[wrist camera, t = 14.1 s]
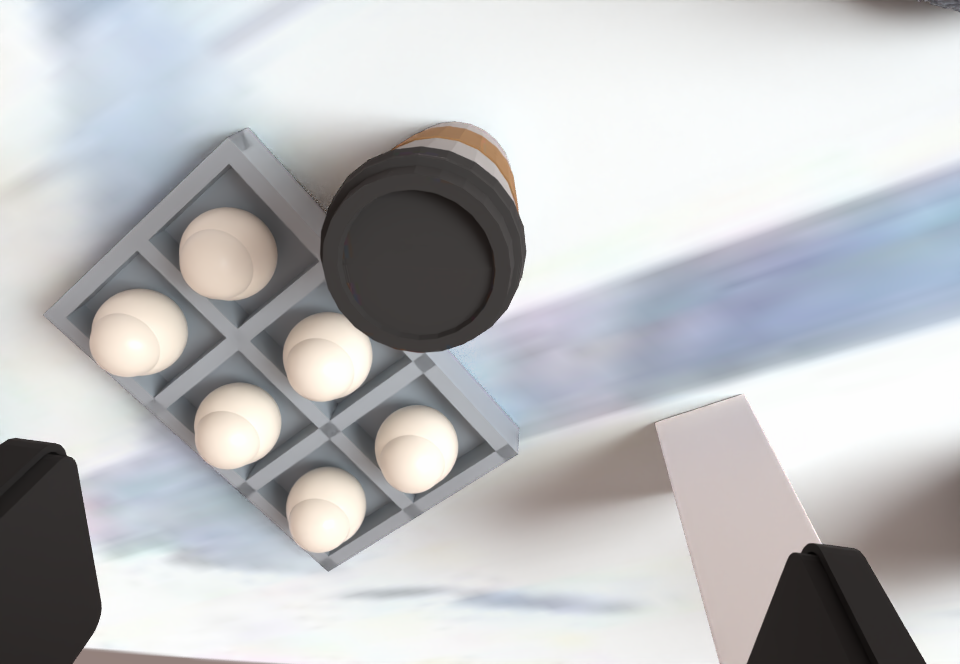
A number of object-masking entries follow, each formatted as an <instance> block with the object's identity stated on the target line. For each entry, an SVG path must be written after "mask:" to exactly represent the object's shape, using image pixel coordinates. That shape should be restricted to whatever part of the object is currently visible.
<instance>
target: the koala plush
mask: <svg viewBox="0 0 960 664" xmlns="http://www.w3.org/2000/svg"><path fill="white" fill-rule="evenodd" d="M917 1H918V2H921V1H922V0H917ZM924 1H929V2H930V4H932V5H937V6H941V7H943V8H952V9H953V10H955V11H959V12H960V0H924Z"/></svg>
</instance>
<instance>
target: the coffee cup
mask: <svg viewBox="0 0 960 664" xmlns="http://www.w3.org/2000/svg"><path fill="white" fill-rule="evenodd" d="M525 257H526V245H525V235H524V226H523V224H522V221H521V219H520V216H519V212H518V203H517V197H516V190H515V183H514V177H513V174H512V171H511V166H510V164H509V161H508V158H507V156H506V153H505V151H504V150H503V149H502V147H501V146H500V144H499V143H498V142H497V140H496V139H495V138H493V137H492V136H491V135H490V134H488V133H487V132H486V131H485V130H483V129H481V128H478V127H476V126H474V125H472V124H468V123H462V122H446V123H439V124H437V125H434V126H432V127H430V128H427V129H425V130H424V131H422V132H420V133H417V134H415V135H413V136H412V137H410V138H408V139H407V140H405V141H404V142H402V143H400V144H399V145H397V146H396V147H394V148H393V149H392V150H390V151H389V152H386V153H384V154H381V155H379V156H377V157H374V158H372V159H369V160H368V161H367V162H365V163H364V164H363V165H362V166H360V167H359V168H358V169H357V170H355V171H354V172H353V173H352V174H350V175H349V176H348V177H347V179H346V180H345V182H344V183H343V185H342V186H341V187H340V189H339V190H338V192H337V193H336V195H335V196H334V198H333V201H332V203H331V204H330V206H329V208H328V211H327V214H326V217H325V220H324V223H323V226H322V229H321V243H320V258H321V262H322V267H323V271H324V275H325V280H326V283H327V287H328V290H329V292H330V293H331V295H332V297H333V299H334V301H335V303H336V305H337V307H338V309H339V310H340V311H341V312H342V313H343V315H344V316H345V317H346V318H347V319H348V320H349V321H350V323H351V324H352V325H353V326H354V327H355V328H357V329H358V330H359V331H361V332H362V333H364V334H365V335H367V336H368V337H369V338H371V339H372V340H374V341H376V342H378V343H381V344H383V345H386V346H388V347H391V348H393V349H396V350H402V351H409V352H415V353H427V352H439V351H444V350H447V349H450V348H453V347H456V346H459V345H462V344H464V343H466V342H468V341H470V340H472V339H474V338H475V337H477V336H478V335H480V334H481V333H483V332H484V331H486V330H487V329H489V328H490V327H492V326H493V325H494V323H495V322H496V321H497V320H498V319H499V318H500V317H501V315H502V314H503V313H504V312H505V311H506V310H507V309H508V307H509V305H510V303H511V300H512V298H513V296H514V294H515V292H516V290H517V288H518V286H519V282H520V280H521V278H522V274H523V268H524V263H525Z"/></svg>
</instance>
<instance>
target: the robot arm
mask: <svg viewBox="0 0 960 664" xmlns="http://www.w3.org/2000/svg"><path fill="white" fill-rule="evenodd" d="M101 609H102V607H101V598H100V593H99V587H98V581H97V576H96V570H95V565H94V559H93V553H92V548H91V542H90V536H89V531H88V525H87V519H86V514H85V508H84V502H83V497H82V491H81V485H80V480H79V474H78V469H77V465H76V462H75V460H74V459H73V458H72V457H69V456H67V455H66V452H65V450H64V448H63V447H62V446H61V445H59V444H56V443H49V442H42V441H34V440H26V439H19V438H13V439H8V440H7V441H5V442H3V443H2V444H0V664H73V662H74V661H75V659H76V657H77V656H78V655H79V653H80V652H81V651H82V649H83V648H84V646H85V645H86V643H87V642H88V641H89V639H90V638H91V636H92V635H93V633H94V631H95V629H96V627H97V625H98V622H99V619H100V616H101ZM747 664H926V662H925V661H924V659H923V657H922V655H921V654H920V652H919V650H918V648H917V647H916V645H915V643H914V642H913V640H912V638H911V636H910V635H909V633H908V631H907V629H906V628H905V626H904V624H903V623H902V621H901V619H900V617H899V616H898V614H897V612H896V610H895V609H894V607H893V605H892V603H891V602H890V600H889V598H888V597H887V595H886V593H885V591H884V590H883V588H882V586H881V584H880V583H879V581H878V579H877V577H876V576H875V574H874V572H873V571H872V569H871V567H870V565H869V564H868V562H867V560H866V558H865V557H864V556H863V554H862V553H861V552H860V551H859V550H857V549H855V548H848V547H840V546H833V545H825V544H817V543H808V544H807V545H806V546H805V547H804V548H803V550H802V552H801V553H797V552H794V553H792V554H790V555H789V557H788V559H787V561H786V564H785V566H784V569H783V571H782V574H781V577H780V579H779V582H778V584H777V587H776V589H775V592H774V595H773V597H772V600H771V602H770V605H769V607H768V610H767V613H766V615H765V618H764V620H763V623H762V625H761V628H760V631H759V633H758V636H757V638H756V641H755V643H754V646H753V649H752V651H751V654H750V656H749V659H748V662H747Z"/></svg>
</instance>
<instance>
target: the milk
mask: <svg viewBox="0 0 960 664" xmlns="http://www.w3.org/2000/svg"><path fill="white" fill-rule="evenodd" d="M655 427H656V430H657V434H658V438H659V441H660V445H661V449H662V452H663V456H664V460H665V464H666V467H667V471H668V475H669V478H670V482H671V486H672V489H673V493H674V497H675V500H676V504H677V508H678V511H679V515H680V519H681V523H682V526H683V530H684V534H685V537H686V541H687V545H688V548H689V552H690V556H691V559H692V563H693V567H694V570H695V574H696V578H697V581H698V585H699V589H700V593H701V596H702V600H703V604H704V607H705V611H706V615H707V618H708V622H709V626H710V629H711V633H712V637H713V640H714V644H715V648H716V652H717V655H718V659H719V663H720V664H747V662H748V659H749V656H750V654H751V651H752V649H753V646H754V643H755V641H756V638H757V636H758V633H759V631H760V628H761V625H762V623H763V620H764V618H765V615H766V613H767V610H768V607H769V605H770V602H771V600H772V597H773V595H774V592H775V589H776V587H777V584H778V582H779V579H780V577H781V574H782V571H783V569H784V566H785V564H786V561H787V559H788V557H789V555H790V554H792V553H794V552H797V553H801V552H802V550H803V548H804V547H805V546H806V545H807V544H808V543H817V544H822V543H821V541H820V539H819V537H818V535H817V533H816V531H815V529H814V527H813V525H812V523H811V521H810V520H809V518H808V516H807V514H806V512H805V510H804V508H803V506H802V504H801V502H800V500H799V498H798V496H797V494H796V492H795V490H794V489H793V487H792V485H791V483H790V481H789V479H788V477H787V475H786V473H785V471H784V469H783V467H782V465H781V463H780V461H779V460H778V458H777V456H776V454H775V452H774V450H773V448H772V446H771V444H770V442H769V440H768V438H767V436H766V434H765V432H764V430H763V429H762V427H761V425H760V423H759V421H758V419H757V417H756V415H755V413H754V411H753V409H752V407H751V405H750V403H749V401H748V399H747V398H746V396H745V394H741V395H738V396H735V397H732V398H729V399H726V400H723V401H720V402H717V403H714V404H710V405H707V406H704V407H701V408H698V409H695V410H692V411H689V412H686V413H683V414H679V415H676V416H673V417H670V418H667V419H664V420H661V421H658V422H655Z"/></svg>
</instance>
